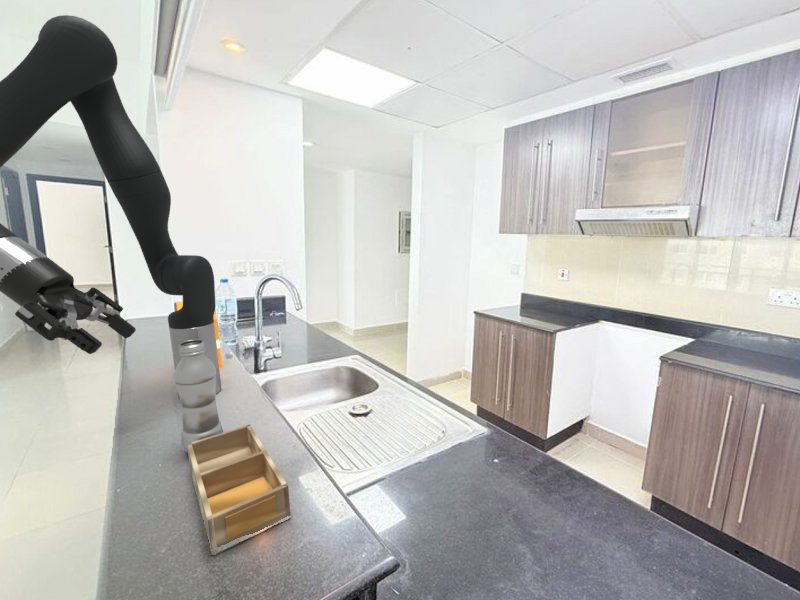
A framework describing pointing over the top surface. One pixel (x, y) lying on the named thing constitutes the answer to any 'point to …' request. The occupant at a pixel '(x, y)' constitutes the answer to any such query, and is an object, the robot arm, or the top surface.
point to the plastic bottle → (197, 393)
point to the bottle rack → (236, 485)
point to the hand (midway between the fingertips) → (115, 341)
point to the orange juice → (179, 306)
